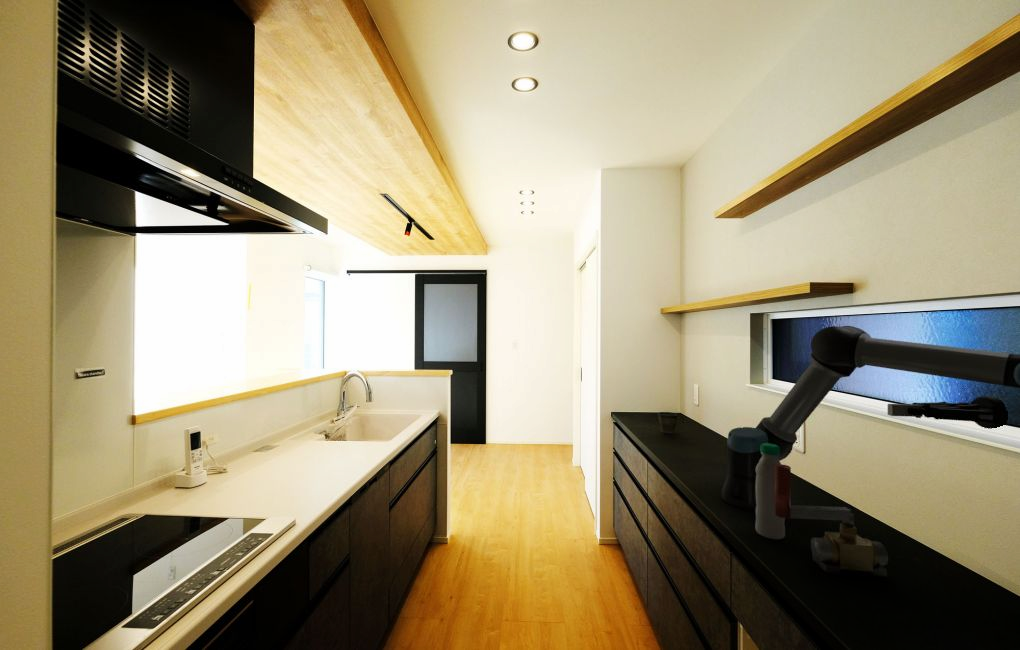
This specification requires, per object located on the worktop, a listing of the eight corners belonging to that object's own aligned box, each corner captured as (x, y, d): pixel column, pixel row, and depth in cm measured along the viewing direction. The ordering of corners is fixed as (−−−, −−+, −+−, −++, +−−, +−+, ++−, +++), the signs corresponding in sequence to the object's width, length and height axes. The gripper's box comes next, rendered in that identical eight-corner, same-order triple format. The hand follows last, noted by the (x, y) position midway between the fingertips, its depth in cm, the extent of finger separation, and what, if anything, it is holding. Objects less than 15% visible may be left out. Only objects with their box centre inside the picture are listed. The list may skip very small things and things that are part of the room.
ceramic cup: (655, 432, 232) (655, 414, 232) (662, 428, 240) (662, 411, 240) (679, 436, 224) (679, 417, 224) (685, 432, 231) (685, 414, 231)
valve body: (823, 572, 100) (823, 530, 100) (809, 558, 106) (809, 518, 106) (889, 577, 98) (889, 534, 98) (871, 563, 104) (871, 522, 104)
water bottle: (778, 529, 121) (778, 442, 121) (789, 541, 114) (789, 449, 114) (751, 527, 123) (751, 440, 123) (760, 539, 116) (760, 447, 116)
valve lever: (848, 522, 104) (848, 466, 104) (857, 528, 100) (857, 470, 100) (772, 519, 105) (772, 464, 105) (779, 525, 102) (779, 468, 102)
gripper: (1031, 435, 93) (911, 431, 96) (975, 422, 106) (870, 419, 109) (1031, 401, 93) (911, 398, 96) (975, 392, 106) (870, 390, 109)
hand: (889, 409), depth 103 cm, fingers closed
